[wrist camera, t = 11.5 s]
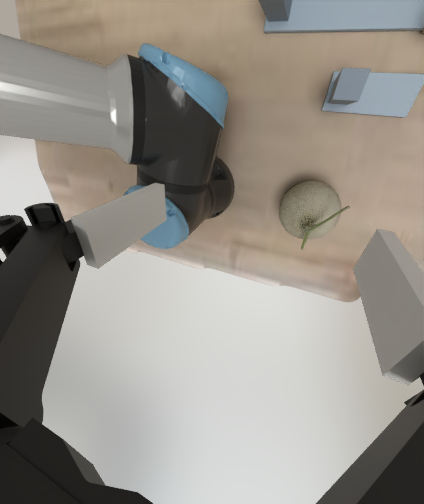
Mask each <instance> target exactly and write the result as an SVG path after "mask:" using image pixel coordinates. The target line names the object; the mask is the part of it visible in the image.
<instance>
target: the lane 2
mask: <svg viewBox="0 0 424 504" xmlns="http://www.w3.org/2000/svg"><path fill="white" fill-rule="evenodd" d="M370 71H371V69H362V68H342V70H341V72H339V71H334V73H333V77H332V80H331V83H330V86H329V89H328V93H327V96H326V99H325V102H324V105H323V108H322V111H331V112H344V113H356V114H369V115H381V116H394V117H406V116H407V114H408V112H409V110H410V109H411V107H412V105H413V103H414V101H415V99H416V97H417V95H418V93H419V91H420V89H421V87H422V85H423V83H424V74H403V73H371V72H370Z"/></svg>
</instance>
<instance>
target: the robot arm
mask: <svg viewBox="0 0 424 504" xmlns="http://www.w3.org/2000/svg"><path fill="white" fill-rule="evenodd" d="M138 55H139V58H137V57H134V56H131V55H128V54H125V53H122V54H121V55H120V56H119V57H118V58H116V59H115V60H114V61H113V62H112V63H111V64H108V65H103V64H100V63H96V62H93V61H90V60H86V59H83V58H80V57H76V56H73V55H69V54H66V53H63V52H59V51H56V50H53V49H49V48H46V47H43V46H39V45H36V44H33V43H29V42H26V41H23V40H19V39H15V38H12V37H9V36H6V35H2V34H0V135H7V136H14V137H21V138H29V139H36V140H44V141H51V142H59V143H67V144H74V145H82V146H89V147H97V148H104V149H111V150H113V151H114V152H115V153H116V154H117V155H118V156H119V157H120V158H121V159H122V160H123V161H124V162H125V163H127V164H135V165H137V185H135V186H132V187H130V188H129V189H128V191H127V192H126V193H125V194H124V195H123V196H122V197H120V198H117V199H115V200H113V201H110V202H108V203H105V204H103V205H101V206H98V207H96V208H93V209H91V210H89V211H86V212H84V213H82V214H79V215H77V216H74V217H72V218H71V220H69V221H67V222H65V221H64V219H63V216H62V213H61V211H60V208H59V206H58V205H57V204H54V203H40V204H35V205H32V206H29V207H27V208H25V209H24V210H25V212H26V214H27V216H28V218H29V220H30V222H31V224H32V226H27V225H26V224H25V222H24V220H23V218H22V217H21V216H16V215H11V216H10V215H6V216H1V217H0V248H1V249H2V251H3V252H4V254H5V255H6V257H7V258H6V259H5V261H4V262H2V261H1V260H0V504H153V503H152V502H150V501H149V500H148V499H146V498H145V497H143V496H142V495H141V494H139V493H138V492H133V491H129V490H124V489H119V488H114V487H109V486H105V484H104V482H103V481H102V479H101V477H100V476H99V474H98V473H97V471H96V469H95V467H94V466H93V464H92V463H90V462H89V461H88V460H87V459H86V458H84V457H83V456H82V455H81V454H80V453H79V452H77V451H76V450H75V449H74V448H72V447H71V446H70V445H69V444H68V443H67V442H66V441H64V440H63V439H62V438H60V437H59V436H58V435H56V434H55V433H53V432H52V431H51V430H49V429H48V428H46V427H45V426H44V425H42V421H43V405H42V391H43V388H44V384H45V381H46V378H47V374H48V371H49V367H50V364H51V361H52V358H53V354H54V351H55V348H56V344H57V341H58V337H59V334H60V331H61V328H62V324H63V321H64V318H65V314H66V311H67V308H68V304H69V301H70V298H71V294H72V291H73V287H74V284H75V281H76V277H77V274H78V271H79V267H80V261H79V258H81V257H82V256H84V257H85V259H86V262H87V264H88V265H90V266H92V267H95V268H100V267H101V266H103V265H104V264H105V263H107V262H108V261H110V260H111V259H112V258H114V257H115V256H117V255H118V254H120V253H121V252H122V251H124V250H125V249H127V248H128V247H129V246H131V245H132V244H134V243H135V242H136V241H138V240H139V239H141V240H143V241H144V242H145V243H147V244H149V245H151V246H153V247H156V248H160V249H169V248H173V247H175V246H177V245H178V244H180V243H181V242H183V241H184V240H186V238H187V237H188V236H189V235H190V234H191V233H192V232H193V231H194V230H195V229H196V228H197V227H198V226H199V225H200V224H201V223H202V222H203V221H204V220H205V219H210V218H214V217H216V216H218V215H220V214H221V213H223V212H224V211H225V210H226V209H227V207H228V206H229V205H230V203H231V201H232V199H233V195H234V182H233V178H232V175H231V172H230V171H229V169H228V167H227V166H226V165H225V164H224V162H222V161H221V160H220V159H219V158H217V157H216V152H217V148H218V145H219V141H220V137H221V133H222V129H224V119H225V114H226V109H227V104H228V93H227V90H226V88H225V87H224V85H223V84H222V83H221V82H220V81H218V80H217V79H216V78H214V77H213V76H211V75H209V74H208V73H206V72H204V71H203V70H201V69H199V68H197V67H196V66H194V65H192V64H190V63H188V62H186V61H185V60H183V59H181V58H179V57H177V56H174V55H171V54H170V53H168V52H165V51H163V50H162V49H160V48H158V47H155V46H153V45H150V44H147V43H144V44H142V45H141V47H140V50H139V51H138ZM353 270H354V274H355V277H356V281H357V285H358V288H359V292H360V295H361V299H362V303H363V306H364V310H365V313H366V317H367V321H368V324H369V328H370V331H371V335H372V338H373V342H374V346H375V350H376V353H377V357H378V360H379V364H380V368H381V371H382V375H383V376H385V377H388V378H390V379H393V380H396V381H398V382H401V383H404V384H406V385H409V384H411V383H412V382H413V381H415V380H416V379H418V378H419V377H420V378H421V380H422V383H423V385H424V273H423V272H422V270H421V269H420V268H419V266H418V265H417V263H416V262H415V261H414V259H413V258H412V257H411V255H410V254H409V252H408V251H407V250H406V248H405V247H404V245H403V244H402V243H401V241H400V240H399V238H398V237H397V236H396V234H395V233H394V232H390V231H385V230H380V229H377V230H376V232H375V233H374V235H373V237H372V238H371V240H370V242H369V243H368V245H367V247H366V248H365V250H364V252H363V253H362V255H361V257H360V258H359V260H358V262H357V263H356V265H355V267H354V268H353ZM404 403H405V404H406V405H407V406H406V407H405V408H404V409H403V410H402V411H401V412H400V413H399V415H398V416H397V417H396V418H395V419H394V420H393V421H392V422H391V423H390V424H389V425H388V426H387V427H386V429H385V430H384V431H383V432H382V433H381V434H380V435H379V436H378V437H377V438H376V439H375V440H374V442H373V443H372V444H371V445H370V446H369V447H368V448H367V449H366V450H365V451H364V452H363V453H362V454H361V455H360V457H359V458H358V459H357V460H356V461H355V462H354V463H353V464H352V465H351V466H350V467H349V468H348V470H347V471H346V472H345V473H344V474H343V475H342V476H341V477H340V478H339V479H338V481H336V483H335V484H334V485H333V486H332V487H331V488H330V489H329V490H328V491H327V492H326V493H325V495H323V497H322V498H321V499H320V500H319V501H318V502H317V503H316V504H424V390H423V391H421V392H420V393H418V394H416V395H415V396H413V397H412V398H411V399H409V400H407V401H406V402H404Z"/></svg>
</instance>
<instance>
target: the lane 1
mask: <svg viewBox="0 0 424 504" xmlns="http://www.w3.org/2000/svg"><path fill="white" fill-rule="evenodd" d="M259 2H260V4H261V6H262V8H263V11H264V13H265V15H266V20H265V27H264V32H265V33H300V32H361V31H421V30H423V29H424V0H259Z"/></svg>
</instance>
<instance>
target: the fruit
mask: <svg viewBox="0 0 424 504" xmlns="http://www.w3.org/2000/svg"><path fill="white" fill-rule="evenodd" d="M348 208H349V206H347V207H345V208H343V209H342V210H341V202H340V199H339V196H338V194H337V193H336V192H335V190H334V189H333V188H331V187H330V186H329V185H327V184H326V183H323V182H320V181H313V180H312V181H305V182H301V183H299V184H297V185H295V186H294V187H292V188H291V189H290V190H289V191H288V192H287V193H286V194H285V196H284V197H283V199H282V202H281V205H280V211H279V215H280V220H281V223H282V225H283V227H284V228H285V229H286V231H287V232H288V233H290V234H291V235H293V236H295V237H297V238H301V239H304V240H303V243H302V246H301V249H302V250H303V247H304V245H305V243H306V240H307V239H314V238H318V237H321V236H323V235H324V234H326V233H328V232H329V231H331V230H332V229H333V228H334V227H335V225H336V224H337V222H338V220H339V217H340V213H341V212H343V211H344V210H346V209H348Z"/></svg>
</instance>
